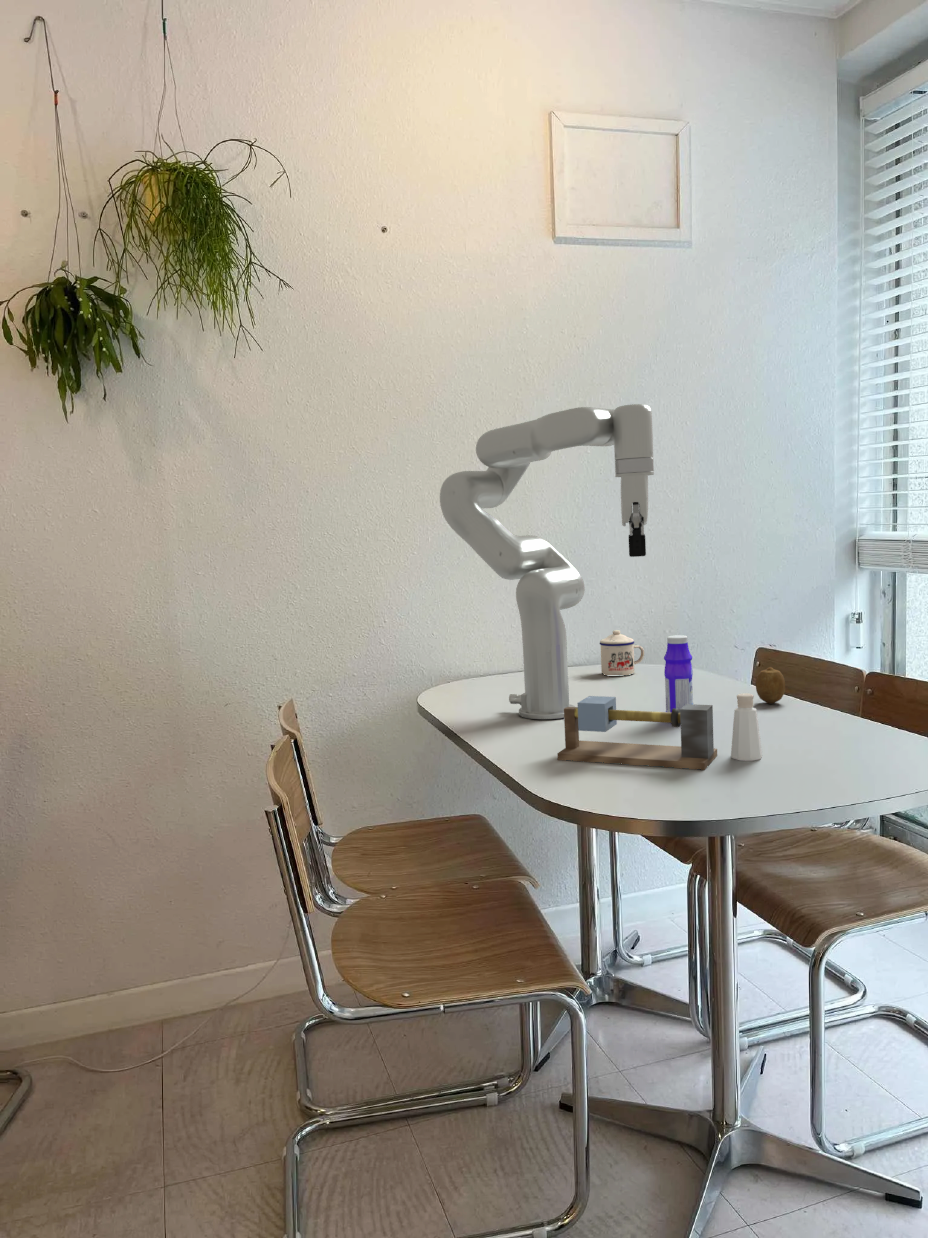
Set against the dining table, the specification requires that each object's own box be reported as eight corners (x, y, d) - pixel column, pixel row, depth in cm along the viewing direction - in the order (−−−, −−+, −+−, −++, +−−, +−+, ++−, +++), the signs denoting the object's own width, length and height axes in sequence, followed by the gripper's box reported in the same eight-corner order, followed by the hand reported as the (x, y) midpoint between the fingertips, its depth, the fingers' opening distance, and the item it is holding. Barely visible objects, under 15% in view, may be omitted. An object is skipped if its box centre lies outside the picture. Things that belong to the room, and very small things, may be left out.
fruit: (782, 700, 214) (781, 664, 213) (788, 706, 208) (788, 668, 207) (753, 701, 215) (752, 665, 214) (758, 706, 209) (758, 670, 208)
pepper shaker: (727, 754, 171) (725, 692, 170) (758, 752, 171) (756, 690, 170) (734, 762, 166) (733, 698, 165) (766, 760, 166) (765, 696, 165)
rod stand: (557, 759, 174) (555, 707, 172) (576, 746, 182) (574, 696, 181) (704, 770, 162) (703, 713, 161) (717, 755, 171) (715, 702, 170)
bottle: (694, 724, 196) (692, 638, 194) (665, 724, 197) (663, 638, 195) (693, 716, 203) (691, 633, 201) (665, 716, 204) (663, 634, 202)
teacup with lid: (607, 678, 253) (605, 633, 252) (596, 673, 262) (594, 630, 260) (651, 674, 255) (649, 630, 254) (638, 669, 264) (636, 626, 263)
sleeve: (578, 730, 173) (577, 702, 172) (590, 722, 179) (589, 695, 178) (605, 732, 171) (604, 703, 170) (616, 724, 176) (615, 696, 176)
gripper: (615, 471, 202) (619, 553, 204) (614, 468, 185) (617, 558, 187) (652, 468, 201) (655, 552, 203) (654, 465, 184) (657, 556, 186)
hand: (637, 555), depth 195 cm, fingers open, 9 cm apart
